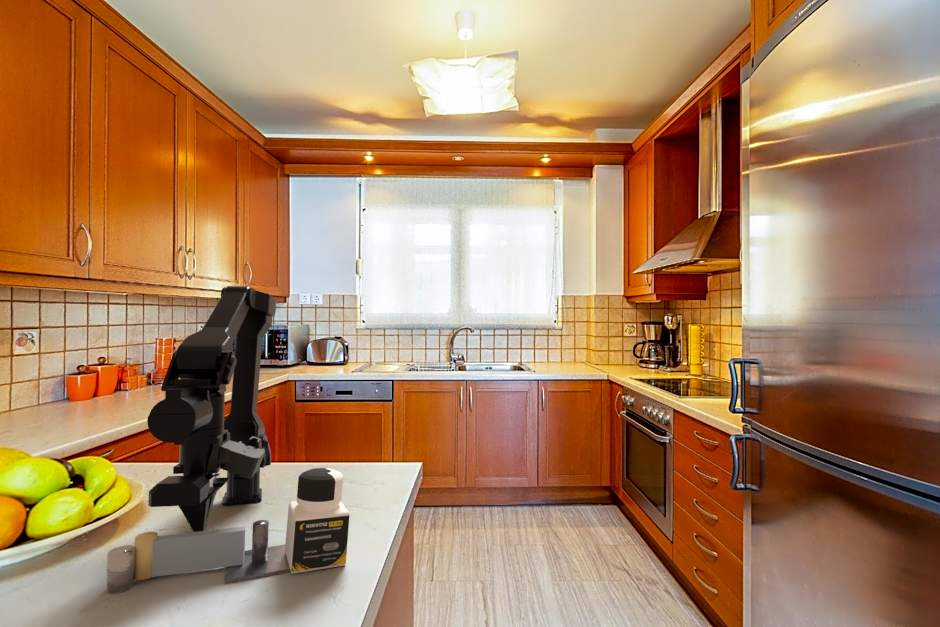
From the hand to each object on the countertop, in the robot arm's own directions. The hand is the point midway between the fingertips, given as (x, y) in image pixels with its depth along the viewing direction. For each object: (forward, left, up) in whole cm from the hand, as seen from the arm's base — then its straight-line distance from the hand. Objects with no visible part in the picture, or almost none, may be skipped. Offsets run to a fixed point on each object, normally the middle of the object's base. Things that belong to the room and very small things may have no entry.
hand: (199, 533), depth 71 cm
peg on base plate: (+9, +8, -2) cm, 12 cm away
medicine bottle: (+11, +15, -2) cm, 19 cm away
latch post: (+9, -8, -2) cm, 12 cm away
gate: (+8, 0, -1) cm, 8 cm away
